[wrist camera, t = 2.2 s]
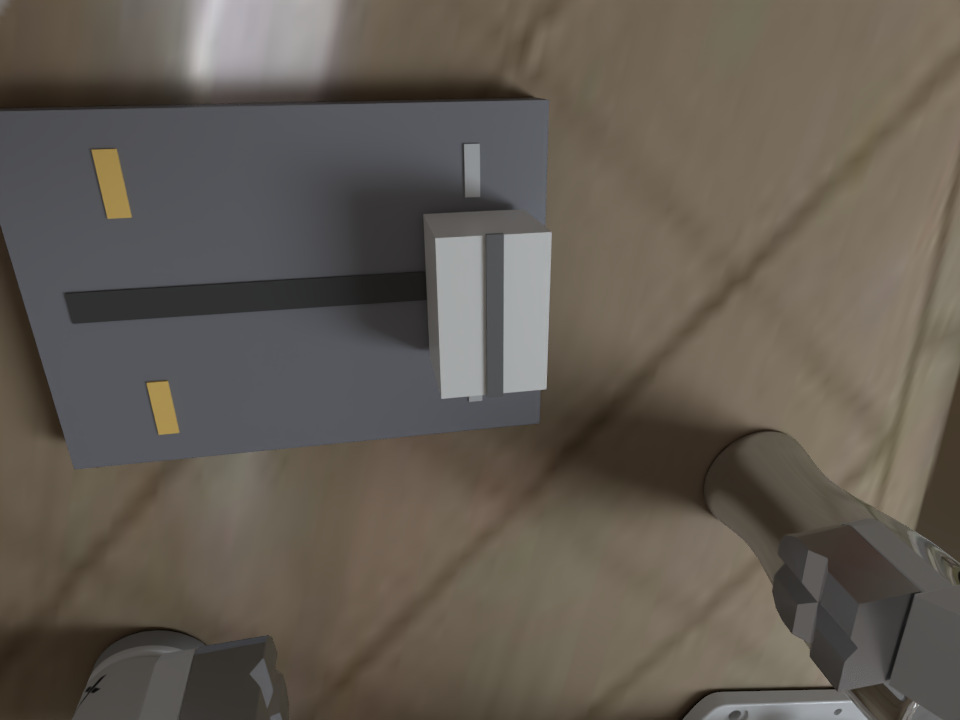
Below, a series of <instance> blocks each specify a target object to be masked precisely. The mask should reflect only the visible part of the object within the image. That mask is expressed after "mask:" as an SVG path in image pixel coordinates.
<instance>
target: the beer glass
mask: <svg viewBox="0 0 960 720" xmlns="http://www.w3.org/2000/svg"><path fill="white" fill-rule="evenodd" d="M704 498H705V501H706V504H707V506H708V508H709V510H710V511H711V513H712V514H713V515H714V516H715V517H716V518H717V519H718V520H719V521H720V522H722V523H723V524H724V525H725V526H727V527H728V528H729V529H731V530H732V531H733V532H734V533H736V534H737V535H738V536H739V537H740V538H742V539H743V540H744V541H745V543H746V544H747V545H748V546H749V547H750V548H751V550H752V551H753V552H754V554H755V555H756V557H757V558H758V560H759V562H760V563H761V565H762V567H763V569H764V570H765V572H766V574H767V576H768V578H769V580H770V582H771V583H772V585H773V580H774V575H775V574H776V573H777V571H778V570H779V569H780V568H781V567H782V565H783V564H784V562H783V561H782V559H781V558H780V557H779V556H778V550H779V544H780V541H781V540H782V539H783V537H784V536H785V535H788V534H793V533H798V532H803V531H808V530H813V529H818V528H823V527H828V526H833V525H841V524H842V523H847V522H852V521H857V520H862V519H867V518H872V519H875V520H877V521H879V522H881V523H882V524H883V525H884V526H886V527H887V528H888V529H889V530H890V531H891V532H892V533H894V534H895V535H896V536H897V537H898V538H899V539H901V540H902V541H903V542H904V543H905V544H906V545H907V546H909V547H910V548H911V549H912V550H913V551H914V552H915V553H917V554H918V555H919V556H920V557H921V558H922V559H924V560H925V561H926V562H927V563H928V564H929V565H930V566H932V567H933V568H934V569H935V570H936V571H937V572H938V573H940V574H941V575H942V576H943V577H944V578H945V579H947V580H948V581H949V582H950V583H951V584H952V585H953V586H956V585H960V563H958V562H957V561H956V560H954V559H953V558H952V557H951V556H949V555H948V554H947V553H945V552H944V551H943V550H941V549H940V548H939V547H938V546H936V545H935V544H934V543H932V542H930V541H929V540H927V539H926V538H924V537H923V536H921V535H920V534H918V533H916V532H915V531H913V530H912V529H910V528H909V527H907V526H906V525H904V524H902V523H900V522H899V521H897V520H895V519H894V518H892V517H890V516H888V515H887V514H885V513H883V512H881V511H880V510H878V509H876V508H874V507H873V506H871V505H869V504H867V503H865V502H864V501H862V500H860V499H858V498H856V497H855V496H853V495H852V494H850V493H848V492H847V491H845V490H843V489H842V488H840V487H839V486H837V485H836V484H835V483H833V482H832V481H831V480H830V479H829V478H828V477H826V476H825V475H824V474H823V473H822V472H821V470H820V469H819V468H818V467H817V465H816V464H815V463H814V461H813V460H812V459H811V457H810V456H809V455H808V453H807V452H806V451H805V449H804V448H803V447H802V446H801V445H800V444H799V443H798V442H797V441H796V440H795V439H794V438H792V437H790V436H788V435H786V434H784V433H780V432H775V431H762V432H757V433H753V434H750V435H747V436H744V437H742V438H740V439H738V440H737V441H735V442H733V443H732V444H731V445H729V446H728V447H727V448H725V449H724V450H723V451H722V452H721V453H720V454H719V455H718V457H717V458H716V459H715V461H714V462H713V463H712V465H711V467H710V469H709V471H708V473H707V475H706V478H705V483H704ZM804 642H805V643H806V645H807V646H808V647H809V649H810V643H808V642H806V641H805V640H804ZM843 692H844V693H845V695H846V696H847V697H848V698H849V699H850V700H851V701H852V703H853V704H854V705H855V706H856V707H857V708H858V709H859V710H860V711H861V713H862V714H863V715H864V716H865V717H866V718H867V719H868V720H943V719H941V718H939V717H938V716H936V715H935V714H933V713H932V712H930V711H928V710H927V709H925V708H924V707H922V706H921V705H919V704H917V703H916V702H914V701H913V700H911V699H910V698H908V697H906V696H905V695H903V694H902V693H900V692H899V691H897V690H895V689H894V688H892V687H891V686H889V682H886V683H881V684H876V685H871V686H866V687H861V688H856V689H851V690H846V691H843Z"/></svg>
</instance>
